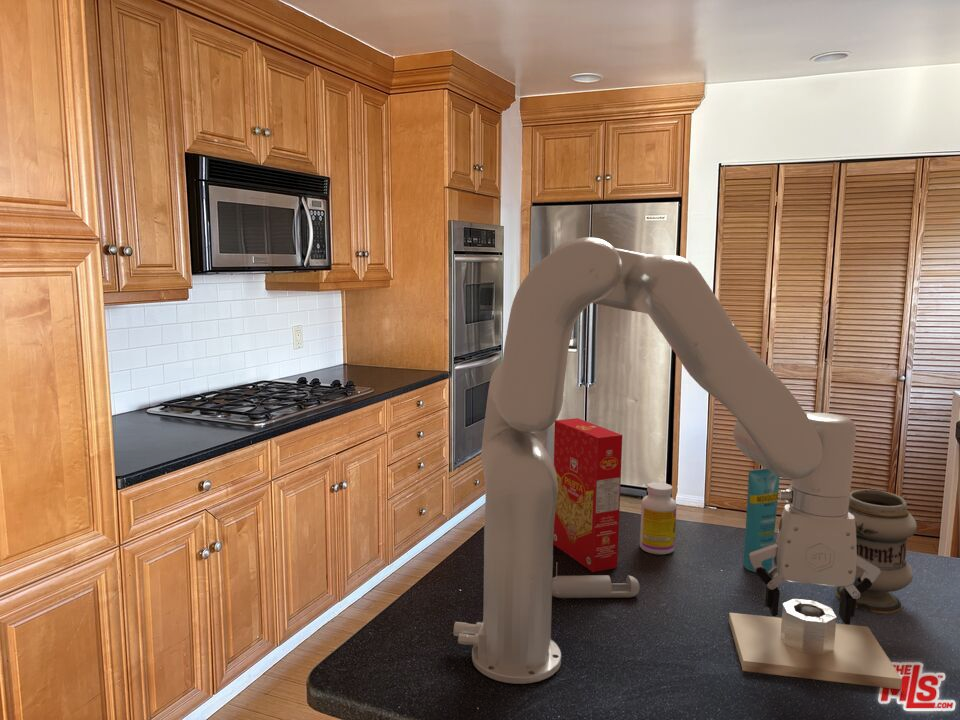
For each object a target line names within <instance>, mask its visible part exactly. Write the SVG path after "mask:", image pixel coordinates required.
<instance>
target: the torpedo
mask: <svg viewBox="0 0 960 720" xmlns="http://www.w3.org/2000/svg"><path fill="white" fill-rule="evenodd" d="M555 564H556V568H555V572H556V573H555V576H554V577H552V597H553V598H554V597H555V598H558V599H608V598H609V599H612V598H613V599H617V598H618V599H619V598H620V599H624V598H625V599H629V598H630V599H631V598H633V597H636V596H637V595H638V594H639V592H640V583H639V581H638V579H637V578H636V577H634V576H632V575H629V574H628V575H627V576H626V583H625V582H623V583H622V582H621V583H620V582H619V583H614V582H613V583H612V579H611V577H610V575H604V574H601V575H600V574H599V575H593V574H592V575H590V574H589V575H558V563H555Z"/></svg>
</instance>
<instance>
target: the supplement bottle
mask: <svg viewBox="0 0 960 720" xmlns="http://www.w3.org/2000/svg"><path fill="white" fill-rule="evenodd" d="M646 491H647V494H648V495H645V496H644V497H643V498H642V500H641V509H640V510H641V511H640V527H639V529H640V531H639V546H640V549H642V551H644V552H647V553H648V554H653V555H661V556H662V555H668V554H671V553H673V552H674V550H675V544H676V524H677V523H676V522H677V502H676V500H675V499H674V498H673V497H671V495H672V494H673V485H671V484H668V483H665V482H660V481H658V482H657V481H656V482H655V481H654V482H649V483H648V484H647V488H646Z"/></svg>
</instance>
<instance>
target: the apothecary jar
mask: <svg viewBox="0 0 960 720" xmlns="http://www.w3.org/2000/svg"><path fill="white" fill-rule="evenodd" d="M848 512H850V513H851V514H852V515H853V516H854V518H855V525H856V540H857V554H858V555H860V556H862V557H863V558H865V559H867V560H868V561H870V562H872V563H874V564H875V565H877V566H878V568H879V569H880V570H881V572H880V574H879V575H878V576H877V578H876V579H875V581H873V582H872V586H871V587H870V588H868V589H867V590H866V591H864V592H863V593H861V594H860V597H859V598H857V599H856V607H855V609H859V610H866V611H868V612H870V613H876V614H883V613H887V614H893V612H894V613H897V612H899V611H900V610H901V609H902V603H901V601H900V600H899V598H898V597H897V596H896V595H894V594H892V593H891V592H896V591H899V590H902V589H905V587H907V586H909V585H910V584H911V583H912V581H913V578H914V572H913V568H912V567H911V565H910V564H909V562H908V561H907V559H906V555H907V540H908V538H910V537H912V536H913V535H915V533H916V531H917V527H918V525H917V524H918V523H917V521H916V519H915V517H913V515H912V514H911V513H910V512H909V511H908V508H907V500H906V499H904V498H903V496H900V495H898V494H895V493H892V492H888V491H885V490H877V489H869V488H868V489H867V488H866V489H854V490H851V491H850V500H849V510H848ZM864 572H865V570H864V569H862V568H861V567H859V566H857V565H856V577H855V580H856V579H857V578H858V577H860V576H862V575H863V573H864ZM842 589H844V587H836V588H835V590H834V593H835V596H836V598H838V600H840V595H841V590H842ZM896 611H897V612H896Z"/></svg>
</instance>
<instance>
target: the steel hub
mask: <svg viewBox="0 0 960 720" xmlns="http://www.w3.org/2000/svg"><path fill="white" fill-rule="evenodd" d="M804 606H810V607H814V608H817V609H819V610H820V611H821V615H820V617H809V616H805V615H802V614H801V610H802V607H804ZM837 617H838V616H837V615H836V614H835V612H834V611H833V608H832V607H830V606H828V605H825V604H822V603H820V602H818V601H815V600H810V599H799V598H792V599H790V600H787V601H785V602H783V603H782V611H781V618H782V622H781V638H782V640H783V643H784V645H785V646H787V647H789V648H791V649H793V650H795V651H797V652H799V653H801V654H809V655H818V656H824V655H826V654H828V653H830V652H832V651H834V642H835V630H836V624H837Z"/></svg>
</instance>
